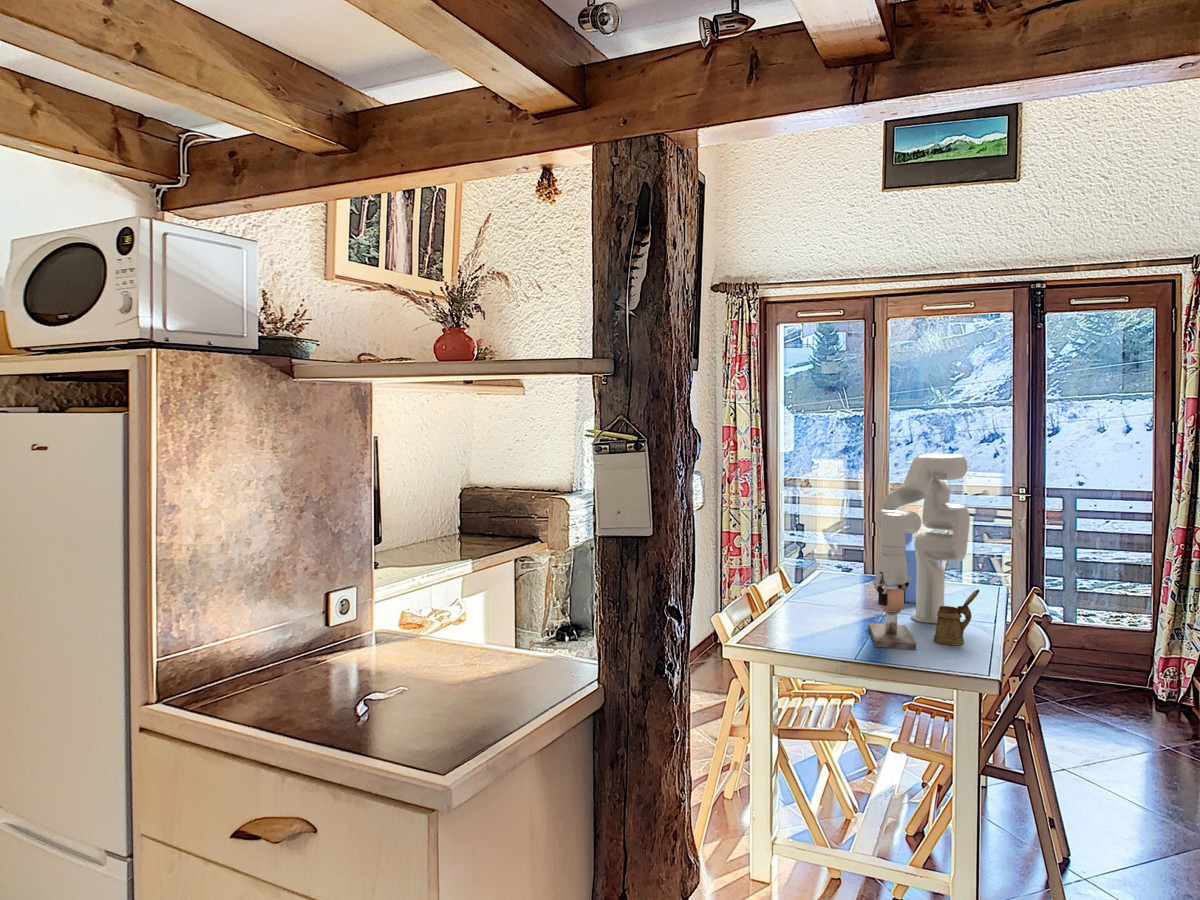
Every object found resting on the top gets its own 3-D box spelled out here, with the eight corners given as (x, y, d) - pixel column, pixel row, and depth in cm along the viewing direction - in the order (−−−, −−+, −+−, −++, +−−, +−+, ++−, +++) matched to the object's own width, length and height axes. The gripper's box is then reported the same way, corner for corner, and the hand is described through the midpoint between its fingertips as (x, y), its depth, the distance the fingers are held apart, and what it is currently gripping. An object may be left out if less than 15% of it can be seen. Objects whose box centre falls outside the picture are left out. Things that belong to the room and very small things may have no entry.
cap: (901, 605, 278) (902, 587, 278) (905, 610, 271) (905, 591, 271) (878, 604, 280) (879, 586, 280) (881, 609, 273) (881, 590, 273)
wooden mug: (979, 648, 265) (980, 591, 265) (933, 643, 270) (934, 588, 269) (977, 641, 273) (979, 586, 273) (933, 637, 278) (934, 583, 278)
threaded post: (899, 631, 278) (899, 607, 278) (901, 635, 273) (901, 611, 272) (881, 630, 279) (881, 606, 279) (883, 634, 274) (883, 610, 274)
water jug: (923, 595, 344) (924, 528, 343) (931, 604, 328) (932, 533, 327) (883, 594, 347) (884, 527, 346) (889, 602, 331) (891, 532, 330)
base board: (905, 630, 286) (905, 625, 286) (916, 649, 263) (916, 643, 263) (868, 628, 289) (868, 623, 289) (876, 647, 266) (876, 641, 266)
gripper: (902, 547, 282) (901, 599, 283) (864, 550, 274) (863, 604, 275) (920, 550, 276) (919, 603, 276) (882, 554, 268) (881, 608, 268)
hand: (891, 603), depth 276 cm, fingers closed on cap, 7 cm apart
